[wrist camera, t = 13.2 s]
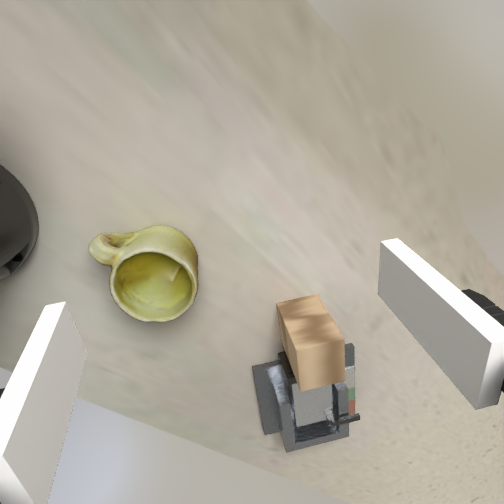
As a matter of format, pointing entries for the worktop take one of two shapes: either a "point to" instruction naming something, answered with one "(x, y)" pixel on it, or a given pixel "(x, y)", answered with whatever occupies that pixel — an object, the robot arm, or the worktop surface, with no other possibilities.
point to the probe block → (311, 342)
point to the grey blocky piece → (311, 400)
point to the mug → (149, 271)
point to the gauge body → (280, 414)
